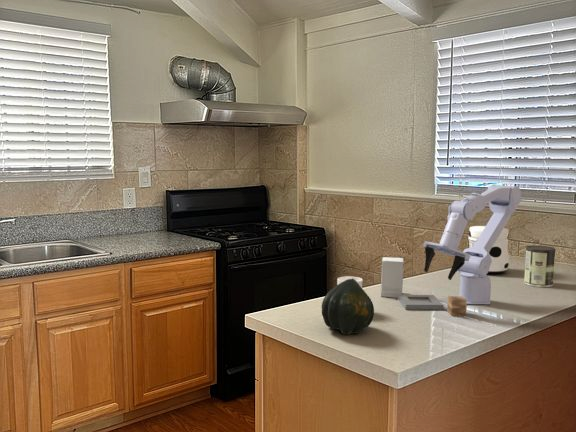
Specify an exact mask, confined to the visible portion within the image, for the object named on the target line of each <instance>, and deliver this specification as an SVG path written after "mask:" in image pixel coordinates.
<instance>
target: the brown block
mask: <svg viewBox="0 0 576 432" xmlns="http://www.w3.org/2000/svg"><path fill="white" fill-rule="evenodd" d="M446 304H447V305H446V307H447V309H446V312H447V313H448V314H449V315H450V316H451V317H466V316H467V305H468V304H467V300H466V299H465V298H463V297H462V296H460V295H457V296H454V295H453V296H451V295H450V296H449V295H448V296H447V303H446Z"/></svg>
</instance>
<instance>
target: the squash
mask: <svg viewBox="0 0 576 432" xmlns="http://www.w3.org/2000/svg"><path fill="white" fill-rule="evenodd" d="M374 315H375V307H374V304H373V301H372V299H371V297H370V296H369V294H367V292H366V291H365V290H364V289H363V287H362V288H361V286H360V285H359V284H358V283H357V282H356V281H355V280H354V279H353V278H352V279H348V280H345V281H344V282H342V283H340V284H338V285H336V286H334V287H333V288H331V289H330V290H329V291H328V292H327V293H326V295H325V296H324V297H323V300H322V302H321V316H322V318H323V323H324V324H325V325H326V326H327V327H328V328H330V329H335V330H340V332H341V333H343V334H344V335H347V336H348V335H350V334H351V333H354V334H358V333H361V332H363V331H364V330H365V329H366V328H368V327H369V326H370V325H371V323H372V322H373V320H374Z"/></svg>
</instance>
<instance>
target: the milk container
mask: <svg viewBox="0 0 576 432" xmlns="http://www.w3.org/2000/svg"><path fill="white" fill-rule="evenodd" d="M485 227H486V225H474V226H470V227H469V231H468V241H467V242H468V245H467V248H470V247H473V246H474V244H475V243H476V241H477V240H478V238H479V236H480V235H481V233H482V232H483V230H484V228H485ZM509 233H510V232H509V229H508V228H505V227H504V228H503V230H502V232H501V233H500V235H499V237H498V238H497V240H496V242H495V243H494V245H493V247H492V248H491V250H490V252H489V255H490V256H491V259H492V263H491V265H490V269H489V272H488V273H487V274H500V273H505V272H506V271H508V269H509V266H510V255H509V251H508V250H509V237H510V234H509Z"/></svg>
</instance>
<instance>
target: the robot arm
mask: <svg viewBox="0 0 576 432" xmlns="http://www.w3.org/2000/svg"><path fill="white" fill-rule="evenodd" d="M521 200H522V189H520V187H519V186H518V185H513V186H512V185H500V184H499V185H498V184H492V185H489V186H488V187H487V189H486V190H485V191H483V192H482V193H481V194H480V193H478V192H471V194H470V195H469V196H467V197H464V198H462V199H461V200H454V201H453V202H451V203H450V205H448V215H447V217H446V218H447V223H446V224H445V227H444V231H443V233H442V236H441V238H440V240H439V243H437V242H432V241H428V240H427V241H426V240H424V243H423V245H422V247H423V249H424V252H425V253H424V254H425V264H424V269H423V271H424V272H425V273H428V271H429V269H430V267H431V264H432V263H431V262H432V261H433V258H434V257H435V256H436V252H437V253H441V254H444V255H447V256H450V257H454V259H453V263H452V266H451V268H450V271H449V273H448V275H447V279H448V280H450V281H451V280H452V279H453V277H454V275H456V273H457V272H458V275H460V279H459V296H462V297H463V298H465V299H466V300H467V304H466V305H492V304H491V303H492V302H491V291H492V281H491V278H490V276H489V275H487V274H489V273H488V272H489V269H490V265H491V263H492V259H491V256H490V255H489V252H490V250H491V248H492V247H493V245H494V243H495V242H496V240H497V238H498V237H499V235H500V233H501V232H502V230H503V228H505V227H506V225H507V223H508V222H509V221H510V218H511V216H512V214H514V213H515V211H516V210H517V208H518V207H519V205H520V203H521ZM487 204H488V206H489V211H491V212H492V213H493V214H492V215H491V217H490V219H489V220H488V222H487V223H486V225H485V226H486V227H485V228H484V230H483V232H482V233H481V235H480V236H479V238H478V240H477V241H476V243H475V244H474V246H473V247H470V248H468V247H467V248H465V249H463V251H462V250H460V249H458V248H459V245H460V242H461V239H462V237H463V235H464V232H465V229H466V227H467V224H468V222H469V221H471V220H473V219H474V217H475V215H476V214H477V213H478V212H480V211H482V210H484V209H485V208H486V205H487Z"/></svg>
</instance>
